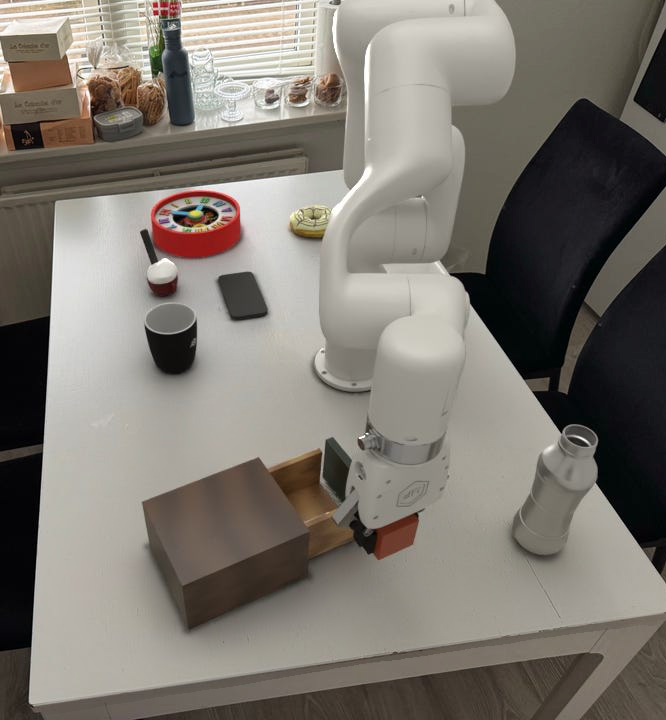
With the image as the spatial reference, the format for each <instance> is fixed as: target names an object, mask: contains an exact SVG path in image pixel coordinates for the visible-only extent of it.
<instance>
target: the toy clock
mask: <svg viewBox="0 0 666 720" xmlns="http://www.w3.org/2000/svg"><path fill="white" fill-rule="evenodd" d="M150 220H151V230H152V238H153V243H154V244H155V246H156V247H157V248H158V249H159V250H161V251H162V252H164V253H166V254H168V255H171V256H175V257H180V258H188V259H189V258H192V259H193V258H195V259H196V258H197V259H198V258H206V257H211V256H215V255H218V254H220V253H223V252H225V251H227V250H229V249H231V248H232V247H234V246H235V245H236V244H237V243H238V242H239V241H240V238H241V235H242V234H241V233H242V226H241V206H240V203H239V202H238V201H237V200H236V199H234V198H233V196H230V195H228V194H226V193H223V192H220V191H219V192H218V191H215V190H203V189H199V190H186V191H182V192H177V193H174V194H171V195H168V196H166V197H164V198H162V199H161V200H159V201H158V202H157V203H156V204H155V205H153V206H152V209H151V211H150Z"/></svg>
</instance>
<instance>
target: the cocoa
mask: <svg viewBox="0 0 666 720" xmlns="http://www.w3.org/2000/svg"><path fill="white" fill-rule="evenodd" d="M139 233H140V236H141V239H142V243H143V245H144V248H145V251H146V252H147V256H148V259H149V261H150V265H149V267H148V269H147V271H146V281H147V285H148V287H149V289H150V291H151V292H152V293H153V294H154V295H156V296H159V297H166V296H169V295H173V294H175V293H176V292H177V287H178V281H179V275H178V273H179V271H178V267H177V266H176V265H175V264H174V262H173V261H170V259H168V258H162V259H161V260H159V259H158V255H157V253H156V250H155V248H154V247H155V246H154V243H153V241H152V239H151V236H150V232H149V230H148V228H144V229H142V230H140V232H139Z"/></svg>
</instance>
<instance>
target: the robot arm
mask: <svg viewBox="0 0 666 720" xmlns="http://www.w3.org/2000/svg"><path fill="white" fill-rule="evenodd" d="M332 22H333V23H332V35H333V36H332V37H333V45H334V49H335V54H336V57H337V60H338V64H339V66H340V69H341V72H342V75H343V78H344V81H345V86H346V92H347V93H346V95H347V96H346V97H347V100H346V102H347V104H346V115H345V130H344V131H345V132H344V144H343V158H342V174H343V175H342V177H343V181H344V184H345V186H346V187H347V188H348V189H349V192H348V193H347V194H346V195H345V197H344V198H342V200H341V201H340V203H338V204H336V205H335V207H333V208H332V209H333V210H332V212H331V214H330V216H329V221H328V226H327V228H326V231H325V234H324V236H323V237H322V240H321V241H322V242H321V247H320V253H319V254H320V255H319V277H318V278H319V281H318V283H319V285H318V314H319V315H318V316H319V317H318V318H319V326H320V330H321V332H322V336H323V337H324V339H325V344H324V346H323V347H322V348H321V349H320V350H318V352H317V354H316V355H315V358H314V371H315V373H316V375H317V377H318V378H319V379H320V380H321V381H322V382H324V383H325V384H326V385H328V386H329V387H331V388H333V389H337V390H340V391H344V392H350V393H360V392H367V391H370V396H369V404H368V408H367V409H368V411H367V415H366V416H367V417H366V421H365V430H364V433H363V435H362V436H360V437H358V438H357V439H356V442H357V446H356V449H355V451H354V454H353V456H352V458H351V459H352V462H351V466H350V469H349V474H348V478H347V484H346V494H345V496H346V500H345V501H344V502H343V503H342V502H341V504H340V505H339V506H338V507H339V508H338V509H337V510H336V512H335V513H334V514H333V515H332V517H331V518H332V520H333V521H334V522H335V524H336V525H337V527H342V528H348V527H350V528H351V529H352V530H354V533H353V538H354V543H355V544H356V545H357V547H358V548H362V549H363V550H364V551H365V553H366V554H367V555H368V556H371V555H372V554H373V552H374V548H375V543H376V538H377V533H376V531H375V529H376V528H380V527H383V526H386V525H388V524H390V523H393V522H395V521H397V520H400V519H402V518H404V517H406V516H409V515H411V514H413V513H414V514H415V516H416V517H417V518H418V519H419V518H420V515H419V514H421V513H423V512H425V510H426V508H428V507H430V506H432V505H434V504H435V503H437V502H438V501H440V500H441V499H442V497H443V495H444V493H445V489H446V486H447V481H448V480H449V478H450V475H449V469H450V462H451V443H450V436H449V433H448V432H447V431H448V427H449V422H450V419H451V415H452V411H453V408H454V403H455V400H456V395H457V393H458V389H459V385H460V381H461V377H462V373H463V369H464V364H465V363H466V356H467V348H466V344H465V330H466V329H467V325H468V323H469V317H470V312H471V300H470V295H469V293H468V291H466V289H465V286H464V284H463V283H462V281H461V280H460V279H458V278H457V277H455V276H452V275H449V274H446V275H443V274H405V273H387V271H386V269H385V268H384V267H383V265H382V264H420V263H433V262H437V263H438V262H439V261H441V260H442V259H443V258H444V257H445V256H446V254H447V252H448V250H449V247H450V245H451V241H452V235H453V232H454V231H453V230H454V227H455V220H456V215H457V210H458V204H459V200H460V199H459V198H460V194H461V189H462V183H463V178H464V173H465V165H466V146H465V140H464V136H463V134H462V132H461V131H460V129H459V128H458V127H456V126H455V125H453V123H452V122H453V120H452V118H453V117H452V116H453V115H452V107H464V106H465V107H466V106H467V107H468V106H471V107H472V106H473V107H474V106H489V105H493V104H494V105H495V104H496V103H498V102H499V101H501V100H502V99H503V98H504V97H505V96H506V94H507V93H508V91H509V89H510V87H511V86H512V82H513V79H514V75H515V70H516V59H517V53H516V51H517V49H516V42H515V35H514V31H513V29H512V26H511V23H510V21H509V19H508V17H507V15H506V14H505V12H504V11H503V9H502V7H501V6H499V4H498V3H497V1H496V0H343V1H342V2H341V3H340V4H339V5H338V6H337V8H336V10H335V12H334V16H333V21H332ZM418 196H421V197H418ZM373 555H374V554H373Z"/></svg>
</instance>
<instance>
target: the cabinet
mask: <svg viewBox="0 0 666 720" xmlns="http://www.w3.org/2000/svg"><path fill="white" fill-rule="evenodd" d="M267 468H268V467H266V464H264V462H263V461H262V459H261V458H260V457H259V456H257V457H255V458H252V459H249V460H247V461H244V462H241V463H239V464H236V465H234V466H231V467H228V468H225V469H224V470H221V471H218V472H216V473H213V474H210V475H208V476H205V477H202V478H200V479H197V480H195V481H192V482H189V483H186V484H184V485H182V486H178V487H176V488H174V489H171V490H169V491H166V492H164V493H160V494H157V495H156V496H153V497H150V498H148V499H145V500H143V501H141V506H142V512H143V517H144V522H145V528H146V534H147V538H148V544H149V548H150V550H151V552H152V555H153V557H154V559H155V561H156V563H157V566H158V567H159V570H160V572H161V575H162V576H163V578H164V581H165V583H166V585H167V587H168V589H169V591H170V593H171V596H172V598H173V600H174V603H175V605H176V606H177V609H178V611H179V613H180V615H181V618H182V620H183V622H184V624H185V627H186V628H187V630H191V629H192V628H194V627H198V626H199V625H201V624H203V623H206V622H208V621H210V620H213V619H214V618H217V617H219V616H222V615H224V614H227V613H228V612H231V611H232V610H235V609H237V608H239V607H242V606H244V605H246V604H249V603H251V602H253V601H255V600H258V599H259V598H262V597H265V596H266V595H269V594H271V593H273V592H276V591H278V590H280V589H283V588H284V587H286V586H289V585H291V584H293V583H295V582H298V581H300V580H302V579H304V578H307V577H308V568H309V559H308V555H309V541H310V530H309V529H308V527H307V526H306V524H305V523H304V522H303V520H302V519H301V517H300V516H299V514H298V513H297V511H296V510H295V509H294V507H293V506H292V504H291V503H290V501H289V500H288V498H287V497H286V495H285V494H284V493H283V491H282V490H281V488H280V487H279V485H278V484H277V482H276V481H275V480H274V478H273V477H272V475H271V474H270V472H269V471H268V469H267Z"/></svg>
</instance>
